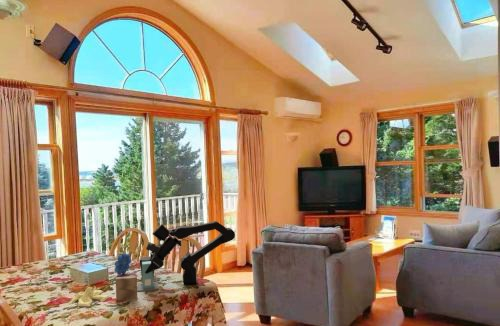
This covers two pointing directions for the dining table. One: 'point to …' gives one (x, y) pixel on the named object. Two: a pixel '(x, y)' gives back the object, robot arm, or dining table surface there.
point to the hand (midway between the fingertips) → (145, 270)
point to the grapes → (122, 263)
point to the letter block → (147, 275)
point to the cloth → (88, 297)
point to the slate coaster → (140, 288)
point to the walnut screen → (126, 288)
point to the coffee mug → (144, 261)
